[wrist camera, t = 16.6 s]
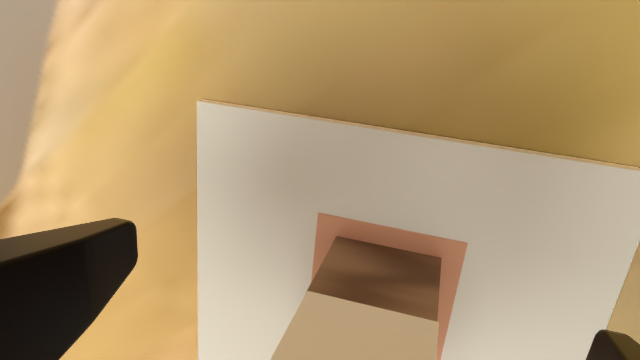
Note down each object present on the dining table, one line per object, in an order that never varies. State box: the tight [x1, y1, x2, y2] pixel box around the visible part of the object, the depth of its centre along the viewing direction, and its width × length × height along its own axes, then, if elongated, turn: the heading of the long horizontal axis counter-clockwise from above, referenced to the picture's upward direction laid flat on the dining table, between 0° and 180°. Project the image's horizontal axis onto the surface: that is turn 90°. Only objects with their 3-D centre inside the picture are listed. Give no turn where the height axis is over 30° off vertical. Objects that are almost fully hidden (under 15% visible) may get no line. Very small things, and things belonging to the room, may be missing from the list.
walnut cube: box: [306, 236, 442, 322], centre depth 21 cm, size 5×5×5 cm
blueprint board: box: [197, 99, 640, 360], centre depth 23 cm, size 20×16×1 cm
